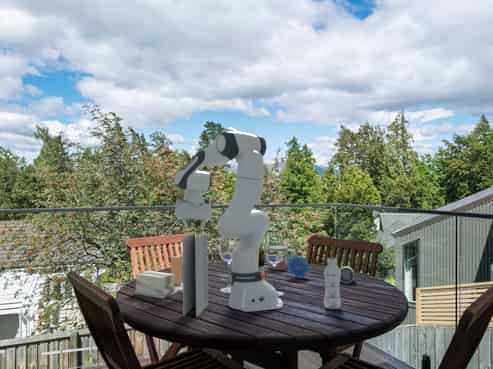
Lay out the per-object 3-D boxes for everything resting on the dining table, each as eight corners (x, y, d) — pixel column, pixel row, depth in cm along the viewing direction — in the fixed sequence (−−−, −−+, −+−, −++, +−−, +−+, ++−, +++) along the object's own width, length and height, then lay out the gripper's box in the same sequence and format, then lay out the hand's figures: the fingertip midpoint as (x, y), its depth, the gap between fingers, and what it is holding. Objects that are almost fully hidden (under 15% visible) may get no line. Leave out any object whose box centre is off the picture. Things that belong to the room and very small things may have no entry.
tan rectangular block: (175, 282, 201) (175, 255, 201) (182, 283, 199) (181, 256, 198) (171, 283, 198) (170, 257, 197) (177, 284, 196) (177, 257, 195)
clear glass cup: (283, 270, 231) (283, 249, 231) (265, 268, 236) (265, 247, 236) (290, 266, 241) (290, 246, 241) (272, 264, 246) (272, 245, 246)
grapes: (287, 279, 208) (286, 256, 208) (286, 276, 215) (286, 254, 215) (309, 280, 207) (309, 256, 207) (308, 276, 214) (308, 254, 214)
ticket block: (167, 282, 205) (167, 264, 205) (194, 286, 196) (194, 268, 196) (134, 293, 186) (134, 274, 185) (162, 298, 177) (162, 278, 177)
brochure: (197, 316, 153) (196, 237, 152) (183, 316, 154) (182, 237, 153) (208, 305, 167) (207, 232, 166) (195, 304, 168) (194, 232, 167)
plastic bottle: (322, 306, 164) (322, 257, 164) (339, 306, 164) (339, 256, 164) (325, 311, 158) (324, 260, 157) (342, 311, 157) (342, 260, 157)
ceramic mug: (354, 279, 207) (353, 264, 207) (354, 283, 199) (353, 268, 199) (333, 278, 210) (332, 264, 210) (332, 282, 202) (331, 267, 202)
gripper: (179, 197, 196) (179, 225, 192) (213, 201, 209) (214, 227, 205) (172, 200, 200) (172, 227, 196) (206, 204, 213) (207, 229, 209)
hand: (194, 227), depth 201 cm, fingers open, 8 cm apart
